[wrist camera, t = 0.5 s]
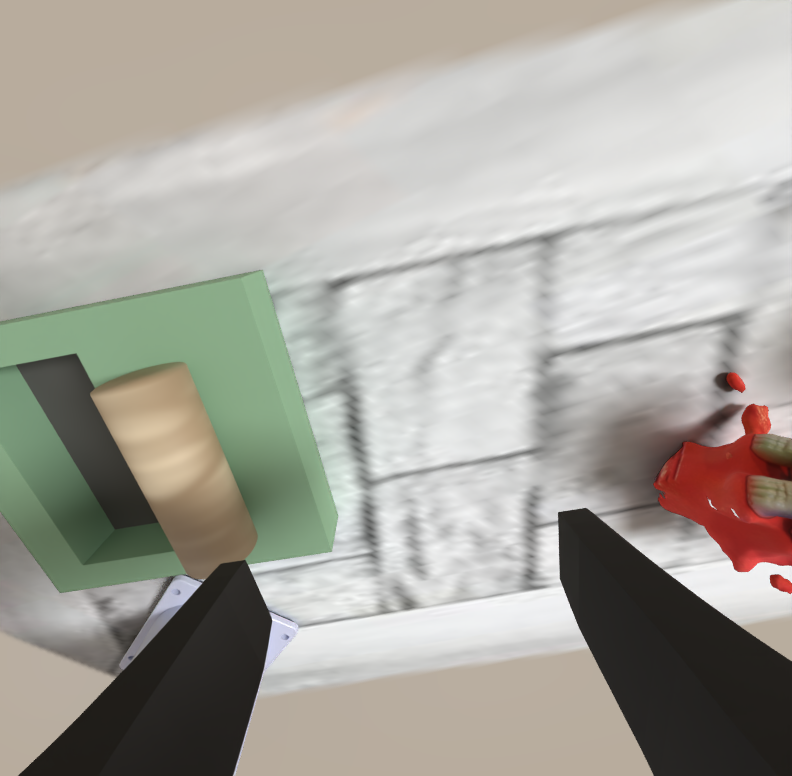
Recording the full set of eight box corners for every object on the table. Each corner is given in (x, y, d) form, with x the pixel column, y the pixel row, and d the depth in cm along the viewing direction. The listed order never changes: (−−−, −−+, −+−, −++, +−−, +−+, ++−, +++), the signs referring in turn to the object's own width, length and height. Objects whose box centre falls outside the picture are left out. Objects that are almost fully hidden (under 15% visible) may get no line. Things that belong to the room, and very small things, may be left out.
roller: (271, 526, 17) (226, 583, 15) (218, 521, 18) (168, 574, 16) (204, 359, 14) (133, 395, 12) (145, 364, 15) (68, 398, 13)
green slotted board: (262, 269, 16) (241, 277, 14) (338, 515, 21) (331, 551, 19) (-50, 331, 17) (-119, 348, 15) (94, 554, 22) (60, 593, 20)
